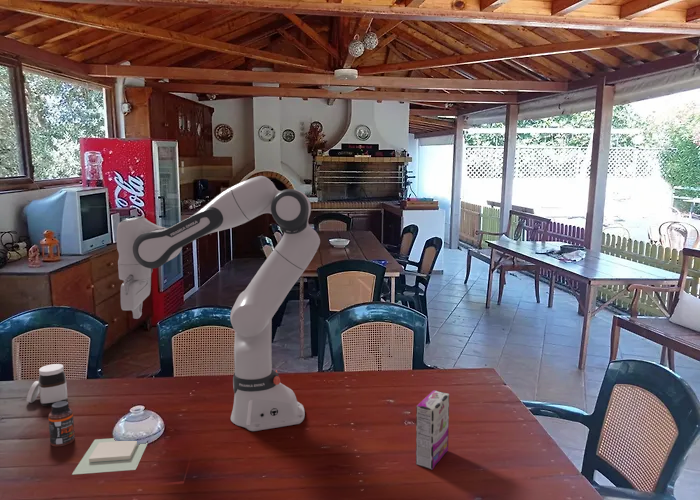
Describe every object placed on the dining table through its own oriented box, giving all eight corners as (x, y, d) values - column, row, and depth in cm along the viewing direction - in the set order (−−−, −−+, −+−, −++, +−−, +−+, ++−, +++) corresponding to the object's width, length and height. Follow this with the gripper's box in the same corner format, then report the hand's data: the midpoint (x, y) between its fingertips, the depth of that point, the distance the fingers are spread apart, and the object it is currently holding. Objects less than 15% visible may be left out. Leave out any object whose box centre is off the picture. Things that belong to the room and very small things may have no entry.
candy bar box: (431, 445, 142) (433, 389, 139) (448, 450, 139) (450, 393, 137) (414, 464, 132) (415, 404, 130) (432, 470, 130) (434, 409, 127)
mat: (151, 437, 146) (151, 435, 146) (135, 471, 129) (135, 469, 129) (94, 441, 143) (94, 439, 143) (71, 476, 127) (71, 474, 127)
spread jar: (69, 404, 166) (66, 370, 164) (28, 413, 160) (24, 377, 158) (65, 391, 176) (62, 358, 174) (26, 399, 169) (23, 365, 168)
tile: (137, 439, 141) (129, 455, 133) (138, 444, 141) (130, 460, 133) (99, 442, 139) (88, 458, 131) (99, 446, 139) (89, 463, 132)
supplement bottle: (64, 449, 139) (60, 409, 137) (45, 447, 140) (41, 407, 139) (79, 438, 145) (76, 400, 143) (61, 436, 146) (58, 398, 144)
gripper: (137, 278, 143) (139, 327, 145) (153, 265, 163) (155, 308, 165) (113, 279, 142) (116, 328, 144) (132, 266, 162) (135, 309, 164)
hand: (137, 317), depth 154 cm, fingers closed
